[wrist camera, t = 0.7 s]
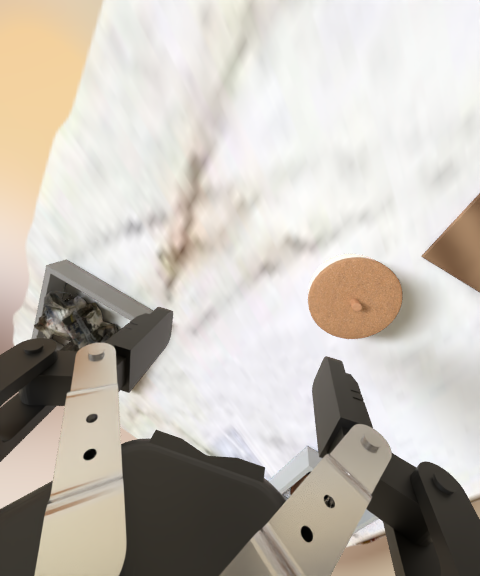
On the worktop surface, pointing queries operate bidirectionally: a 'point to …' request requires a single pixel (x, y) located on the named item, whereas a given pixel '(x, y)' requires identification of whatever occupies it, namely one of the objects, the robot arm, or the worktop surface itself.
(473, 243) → the walnut lid
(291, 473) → the grey square tray
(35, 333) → the foil frame
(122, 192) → the worktop surface
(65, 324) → the foil
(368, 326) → the lidded jar
